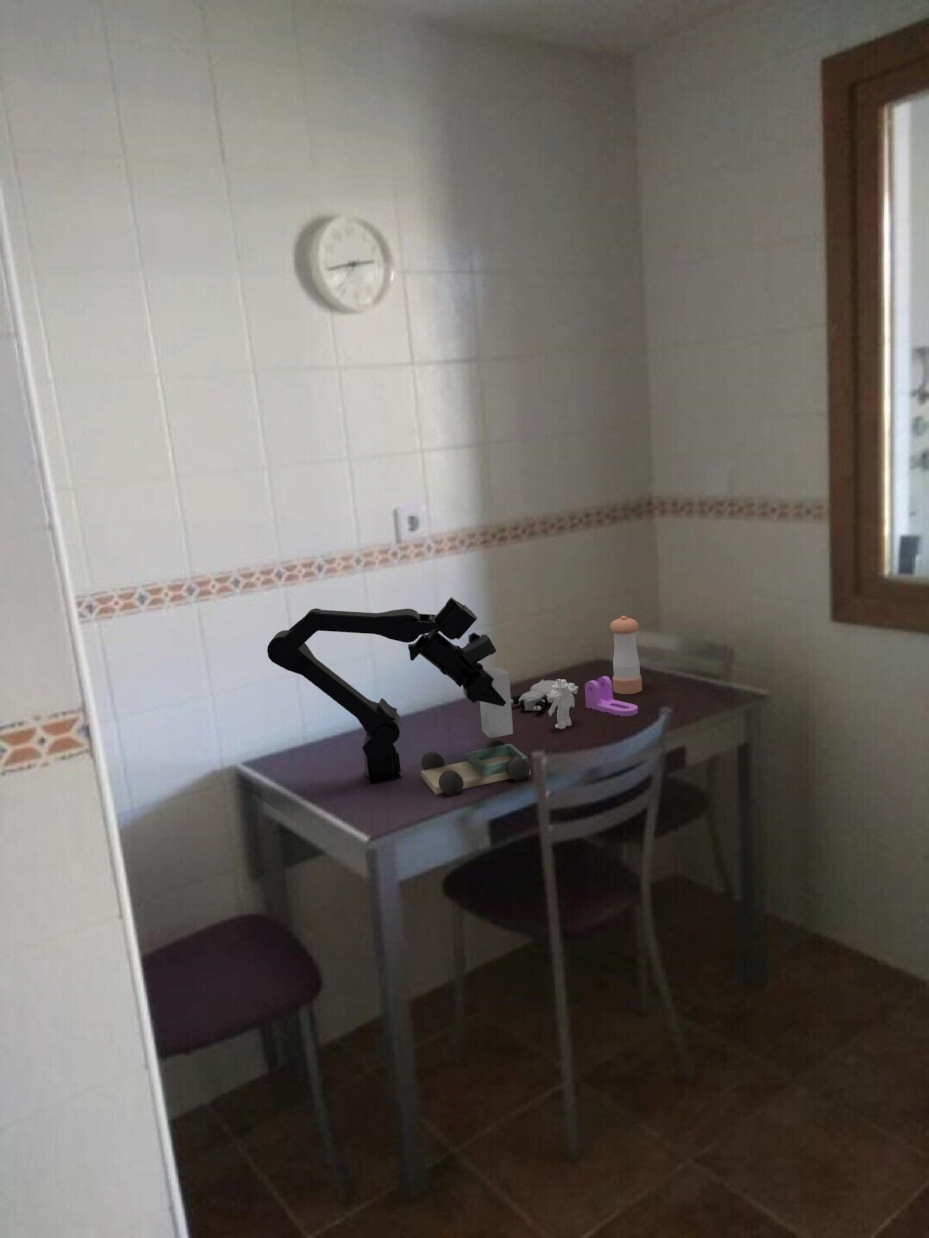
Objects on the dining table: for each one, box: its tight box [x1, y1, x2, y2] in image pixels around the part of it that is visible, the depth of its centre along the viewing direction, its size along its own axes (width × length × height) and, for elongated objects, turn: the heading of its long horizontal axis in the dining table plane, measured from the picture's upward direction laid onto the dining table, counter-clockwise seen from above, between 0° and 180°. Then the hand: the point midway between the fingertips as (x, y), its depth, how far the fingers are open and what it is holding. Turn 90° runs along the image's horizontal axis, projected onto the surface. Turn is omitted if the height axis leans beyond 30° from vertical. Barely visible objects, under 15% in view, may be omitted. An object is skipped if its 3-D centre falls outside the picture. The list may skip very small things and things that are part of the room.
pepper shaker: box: [609, 615, 643, 695], centre depth 238 cm, size 7×7×19 cm
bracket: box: [584, 675, 639, 717], centre depth 226 cm, size 13×6×7 cm, turn 39°
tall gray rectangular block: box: [479, 667, 514, 739], centre depth 196 cm, size 5×5×13 cm
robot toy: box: [511, 679, 580, 712], centre depth 234 cm, size 12×4×15 cm
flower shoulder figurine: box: [547, 678, 579, 730], centre depth 217 cm, size 9×4×12 cm, turn 134°
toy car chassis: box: [420, 738, 531, 796], centre depth 192 cm, size 20×14×4 cm
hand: (501, 700), depth 196 cm, fingers closed on tall gray rectangular block, 5 cm apart
